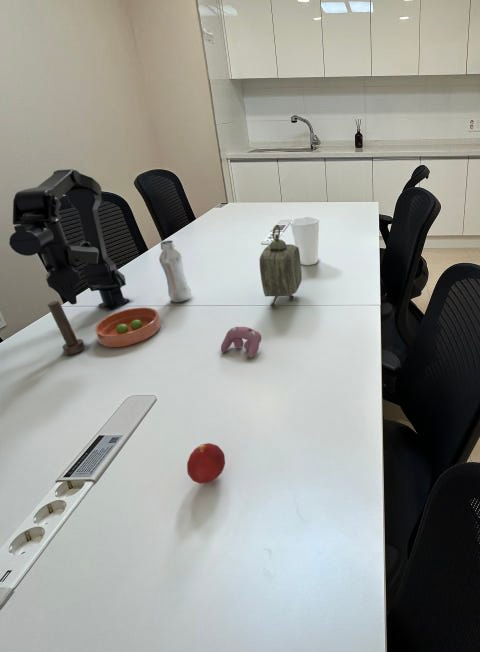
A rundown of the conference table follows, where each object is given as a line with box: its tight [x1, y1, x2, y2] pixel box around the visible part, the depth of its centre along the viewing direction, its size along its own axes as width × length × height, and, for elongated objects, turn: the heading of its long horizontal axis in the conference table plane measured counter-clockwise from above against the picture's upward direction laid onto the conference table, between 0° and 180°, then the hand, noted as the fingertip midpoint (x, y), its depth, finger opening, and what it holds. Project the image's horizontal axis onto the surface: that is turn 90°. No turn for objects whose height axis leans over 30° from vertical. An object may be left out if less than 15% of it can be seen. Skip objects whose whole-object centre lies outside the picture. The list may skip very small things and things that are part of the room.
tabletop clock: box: [259, 224, 303, 309], centre depth 120 cm, size 14×9×25 cm, turn 178°
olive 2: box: [130, 320, 143, 330], centre depth 109 cm, size 3×3×3 cm
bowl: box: [94, 307, 162, 348], centre depth 108 cm, size 15×15×4 cm
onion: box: [186, 442, 226, 484], centre depth 64 cm, size 6×6×8 cm
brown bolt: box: [47, 300, 86, 356], centre depth 99 cm, size 4×4×14 cm
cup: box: [289, 216, 320, 266], centre depth 151 cm, size 11×10×17 cm
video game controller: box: [220, 326, 262, 359], centre depth 100 cm, size 10×5×7 cm, turn 71°
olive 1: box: [116, 324, 129, 334], centre depth 107 cm, size 3×3×3 cm
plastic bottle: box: [158, 240, 192, 303], centre depth 123 cm, size 6×7×20 cm
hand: (73, 297), depth 102 cm, fingers open, 9 cm apart
